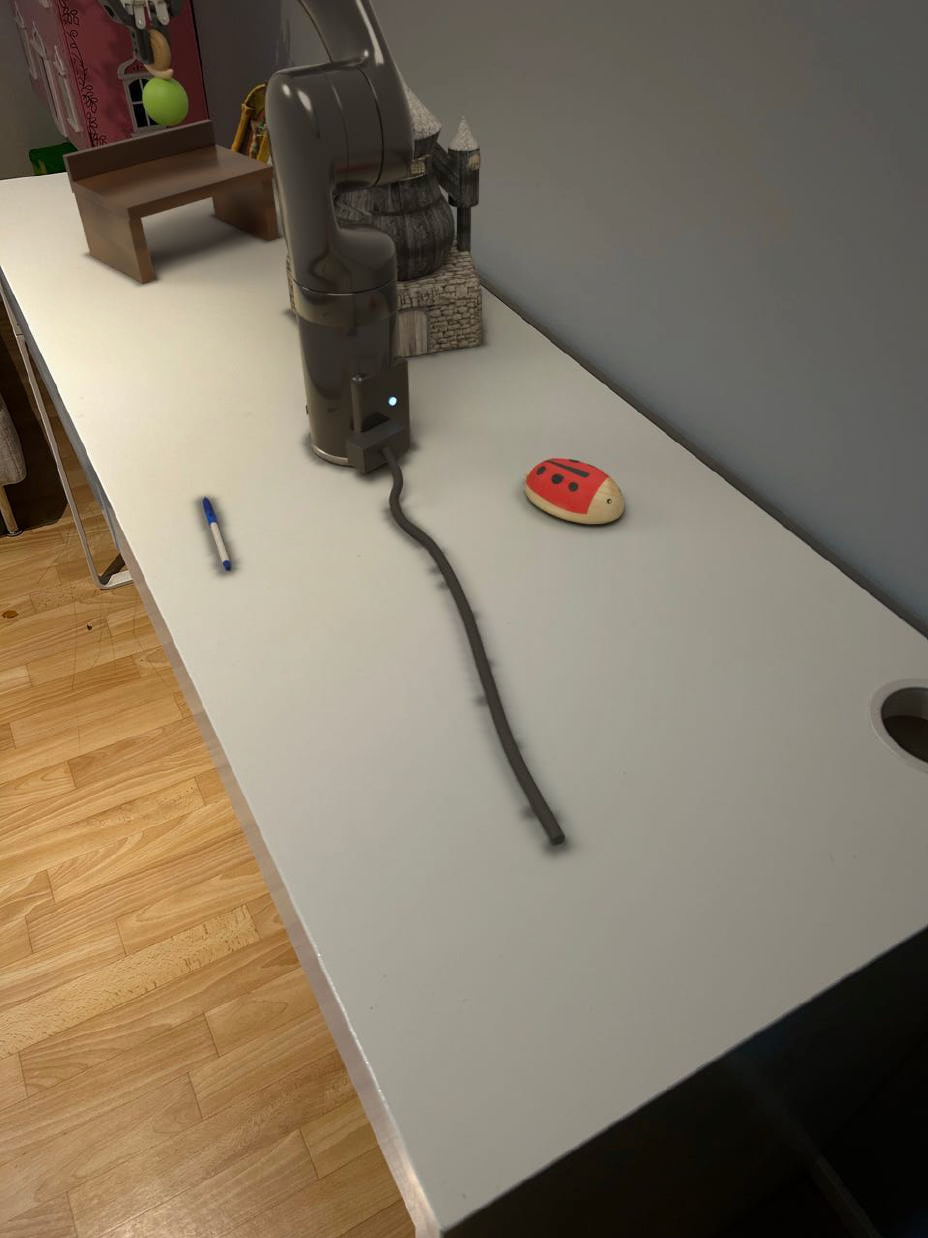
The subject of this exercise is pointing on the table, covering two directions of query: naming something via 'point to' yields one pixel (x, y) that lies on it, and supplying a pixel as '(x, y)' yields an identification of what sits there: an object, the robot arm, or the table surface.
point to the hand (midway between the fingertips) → (155, 61)
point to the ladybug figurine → (574, 491)
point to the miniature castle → (428, 237)
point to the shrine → (253, 127)
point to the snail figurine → (163, 86)
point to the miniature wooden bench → (164, 190)
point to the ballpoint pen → (216, 532)
